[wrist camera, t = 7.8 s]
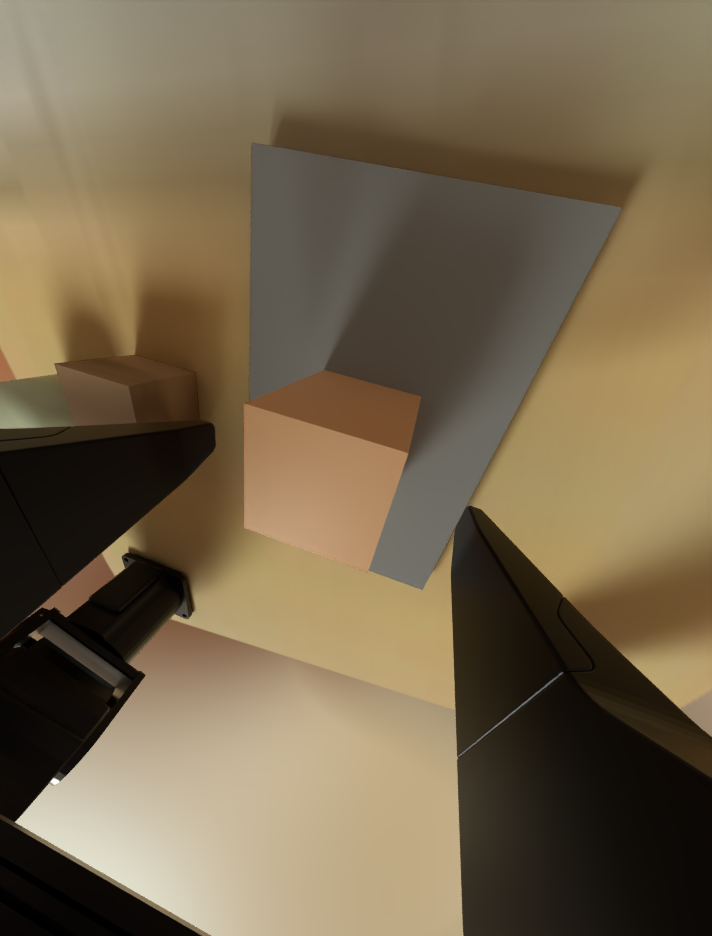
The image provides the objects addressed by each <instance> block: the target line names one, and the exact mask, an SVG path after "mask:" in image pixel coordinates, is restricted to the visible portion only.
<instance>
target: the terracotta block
mask: <svg viewBox="0 0 712 936" xmlns="http://www.w3.org/2000/svg"><path fill="white" fill-rule="evenodd" d="M420 401H421V396H417V395H414V394H410V393H406V392H403V391H399V390H395V389H392V388H388V387H384V386H381V385H377V384H374V383H370V382H366V381H363V380H359V379H355V378H352V377H348V376H344V375H341V374H337V373H334V372H330V371H326V370H322V371H320V372H318V373H315V374H313V375H310V376H308V377H306V378H303V379H301V380H298V381H296V382H294V383H291V384H289V385H287V386H284V387H282V388H279V389H277V390H275V391H272V392H270V393H267V394H265V395H263V396H260V397H258V398H255V399H253V400H251V401H248V402H246V403H244V528H246V529H249V530H252V531H254V532H257V533H260V534H263V535H265V536H268V537H271V538H273V539H276V540H279V541H282V542H284V543H287V544H290V545H293V546H295V547H298V548H301V549H304V550H306V551H309V552H312V553H315V554H317V555H320V556H323V557H326V558H328V559H331V560H334V561H337V562H339V563H342V564H345V565H348V566H350V567H353V568H356V569H359V570H361V571H364V572H367V573H368V571H369V568H370V565H371V562H372V559H373V556H374V553H375V550H376V547H377V544H378V541H379V538H380V535H381V533H382V530H383V527H384V524H385V521H386V518H387V515H388V512H389V509H390V506H391V503H392V500H393V497H394V494H395V492H396V489H397V486H398V483H399V480H400V477H401V474H402V471H403V468H404V465H405V462H406V459H407V456H408V453H409V449H410V445H411V440H412V436H413V432H414V427H415V423H416V418H417V414H418V409H419V405H420Z"/></svg>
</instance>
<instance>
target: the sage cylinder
mask: <svg viewBox="0 0 712 936" xmlns="http://www.w3.org/2000/svg"><path fill="white" fill-rule="evenodd" d="M64 426H71V427H73V426H75V424H74V421H73V418H72V415H71V412H70V409H69V406H68V403H67V400H66V397H65V394H64V391H63V388H62V385H61V382H60V379H59V376H58V374H55V375H48V376H40V377H33V378H26V379H19V380H11V381H4V382H0V427H1V429H9V428H40V427H64Z"/></svg>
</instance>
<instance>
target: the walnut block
mask: <svg viewBox="0 0 712 936" xmlns="http://www.w3.org/2000/svg"><path fill="white" fill-rule="evenodd" d="M54 365H55V368H56V371H57V374H58V376H59V379H60V382H61V385H62V388H63V391H64V394H65V397H66V400H67V403H68V406H69V409H70V412H71V415H72V418H73V421H74V424H75V426H86V425H106V424H127V423H148V422H169V421H190V420H200V414H199V403H198V393H197V382H196V372H193V371H189V370H186V369H182V368H179V367H175V366H172V365H168V364H165V363H161V362H158V361H154V360H151V359H147V358H144V357H140V356H137V355H129V356H120V357H111V358H101V359H92V360H83V361H74V362H64V363H55V364H54Z"/></svg>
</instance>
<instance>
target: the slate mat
mask: <svg viewBox="0 0 712 936" xmlns="http://www.w3.org/2000/svg"><path fill="white" fill-rule="evenodd" d="M621 210H622V207H616V206H611V205H605V204H599V203H594V202H588V201H582V200H576V199H571V198H565V197H559V196H554V195H548V194H542V193H537V192H531V191H525V190H519V189H514V188H508V187H502V186H497V185H491V184H485V183H480V182H474V181H468V180H462V179H457V178H451V177H445V176H440V175H434V174H428V173H422V172H417V171H411V170H405V169H400V168H394V167H388V166H383V165H377V164H371V163H365V162H360V161H354V160H348V159H343V158H337V157H331V156H326V155H320V154H314V153H308V152H303V151H297V150H291V149H286V148H280V147H274V146H268V145H263V144H257V143H252V155H251V266H250V377H249V401H251V400H253V399H255V398H258V397H260V396H263V395H265V394H267V393H270V392H272V391H275V390H277V389H279V388H282V387H284V386H287V385H289V384H291V383H294V382H296V381H298V380H301V379H303V378H306V377H308V376H310V375H313V374H315V373H318V372H320V371H322V370H326V371H330V372H334V373H337V374H341V375H344V376H348V377H352V378H355V379H359V380H363V381H366V382H370V383H374V384H377V385H381V386H384V387H388V388H392V389H395V390H399V391H403V392H406V393H410V394H414V395H417V396H421V401H420V405H419V409H418V414H417V418H416V423H415V427H414V432H413V436H412V440H411V445H410V449H409V453H408V456H407V459H406V462H405V465H404V468H403V471H402V474H401V477H400V480H399V483H398V486H397V489H396V492H395V494H394V497H393V500H392V503H391V506H390V509H389V512H388V515H387V518H386V521H385V524H384V527H383V530H382V533H381V535H380V538H379V541H378V544H377V547H376V550H375V553H374V556H373V559H372V562H371V565H370V568H369V571H372V572H374V573H377V574H380V575H383V576H385V577H388V578H391V579H394V580H396V581H399V582H402V583H405V584H407V585H410V586H413V587H416V588H418V589H421V590H423V588H424V586H425V584H426V582H427V580H428V578H429V577H430V575H431V573H432V571H433V569H434V567H435V565H436V563H437V561H438V559H439V557H440V556H441V554H442V552H443V550H444V548H445V546H446V544H447V542H448V540H449V538H450V536H451V534H452V533H453V531H454V529H455V527H456V525H457V523H458V521H459V519H460V517H461V515H462V513H463V512H464V510H465V508H466V506H467V504H468V502H469V500H470V498H471V496H472V494H473V492H474V491H475V489H476V487H477V485H478V483H479V481H480V479H481V477H482V475H483V473H484V471H485V470H486V468H487V466H488V464H489V462H490V460H491V458H492V456H493V454H494V452H495V450H496V448H497V447H498V445H499V443H500V441H501V439H502V437H503V435H504V433H505V431H506V429H507V427H508V426H509V424H510V422H511V420H512V418H513V416H514V414H515V412H516V410H517V408H518V406H519V405H520V403H521V401H522V399H523V397H524V395H525V393H526V391H527V389H528V387H529V385H530V383H531V382H532V380H533V378H534V376H535V374H536V372H537V370H538V368H539V366H540V364H541V362H542V361H543V359H544V357H545V355H546V353H547V351H548V349H549V347H550V345H551V343H552V341H553V340H554V338H555V336H556V334H557V332H558V330H559V328H560V326H561V324H562V322H563V320H564V319H565V317H566V315H567V313H568V311H569V309H570V307H571V305H572V303H573V301H574V299H575V297H576V296H577V294H578V292H579V290H580V288H581V286H582V284H583V282H584V280H585V278H586V276H587V275H588V273H589V271H590V269H591V267H592V265H593V263H594V261H595V259H596V257H597V255H598V254H599V252H600V250H601V248H602V246H603V244H604V242H605V240H606V238H607V236H608V234H609V233H610V231H611V229H612V227H613V225H614V223H615V221H616V219H617V217H618V215H619V213H620V211H621Z"/></svg>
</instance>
